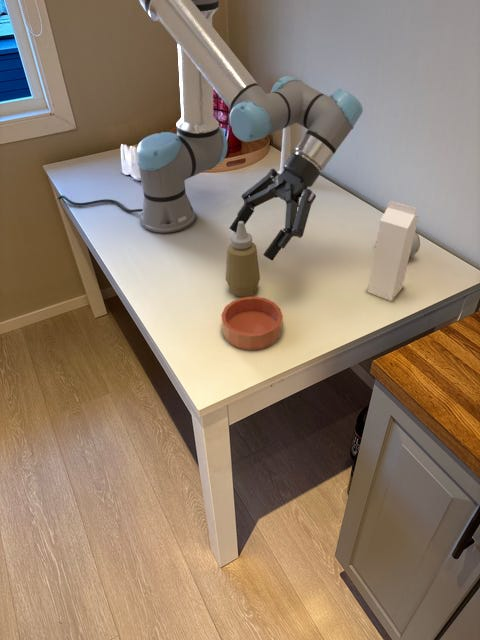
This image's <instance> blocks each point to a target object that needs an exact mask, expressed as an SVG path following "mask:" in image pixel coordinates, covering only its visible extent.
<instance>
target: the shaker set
mask: <svg viewBox="0 0 480 640" xmlns="http://www.w3.org/2000/svg"><path fill="white" fill-rule="evenodd" d="M137 159H138V158H137V147H136V146H132V145H130V146H128V145H127V144H123V143H121V145H120V160H121V173H122V174H124V175H125V176H129V175H130V177H131V178H133V179H134V180H135V181H138V182H141V176H140V170H139V166H138V163H137Z"/></svg>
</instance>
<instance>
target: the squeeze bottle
mask: <svg viewBox="0 0 480 640" xmlns="http://www.w3.org/2000/svg"><path fill="white" fill-rule="evenodd" d="M259 265H260V264H259V257H258V249H257V245H256V243H255V242H253V236H252V234H251V233H249V232H247V229H246V224H245V225H244V222H243V221H239V222H238V227H237V232H236V233H235V232H234V233H233V234H232V235H231V237H230V243H229V244H228V245H227V249H226V266H225V267H226V269H225V281H226V283H227V286H228V288H229V290H230V292H231V294H233V295H235V296H236V297H240V298H242V297H251V296H253V294H254V293H255V292H256V290H257V288H258V286H259V284H260V280H261V273H260V266H259Z"/></svg>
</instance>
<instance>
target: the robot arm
mask: <svg viewBox="0 0 480 640" xmlns="http://www.w3.org/2000/svg"><path fill="white" fill-rule="evenodd" d="M138 1H139V3H140V5H141V6H142V8H143V10H144V11H145V12H146V14H147V15H148V16H149V17H150V19H151V20H152V21H153V22H155V23H161V24H162V26H163V27H164V28H165V30H166V31H167V32H168V33H169V34H170V36H171V37H172V38H173V40H174V41H175V42H176V44H177V60H178V76H179V77H178V78H179V93H180V94H179V95H180V112H181V116H180V118H179V119H177V121H176V133H175V132H171V131H161V132H160V133H158V132H157V133H153V134H150V135H148V136H146V137H144V138H143V139H141V141H140V142H139V143H138V145H137V147H136V148H137V158H138V159H137V163H138V166H139V170H140V176H141V181H140V182H141V187H142V193H143V204H142V208H135V209H129V208H127V207H125V206H124V205H123V204H122V203H121V202H119V201H117V200H115V199H109V198H107V199H106V198H105V199H103V198H102V199H97V200H96V199H95V200H93V201H92V200H91V201H86V202H76V201H73V200H71V199H69V198H68V197H67V196H65V195H59V196H58V198H57V200H61V199H64V200H65V201H66V202H68V203H69V204H71V205H74V206H89V205H94V204H99V203H100V204H101V203H114V204H116V205H118V206H119V207H120V208H121V209H122V210H123V211H125V212H127V213H141V214H140V216H141V217H140V218H141V224H142V226H143V227H144V228H145V229H146V230H148V231H150V232H152V233H158V234H171V233H176V232H180V231H183V230H185V229H187V228H189V227H190V226H191V225H192V224H193V223H194V222H195V219H196V217H195V211H194V208H193V206H192V204H191V201H190V199H189V197H188V195H187V192H186V184H185V183H186V182H185V181H186V180H188V179H190V178H193V177H195V176H197V175H199V174H202V173H203V172H205V171H209V170H212V169H214V168H216V166H218V165H220V164H221V163H223V161H224V160H225V158H226V156H227V153H228V147H229V146H228V138H227V136H226V135H225V131H224V129H223V128H222V126H220V122H219V121H218V120H217V119H216V117H215V116H214V92H215V93H216V94H217V95H218V97H219V98H220V99H221V101H222V102H223V103H224V104H225V105H226V106H227V108H228V110H229V111H230V112H229V126H230V127H231V129H232V133H233V135H234V136H235V138H237V139H238V140H239V141H241V142H245V143H250V142H256V141H257V140H262V139H265V138H266V137H267V136H269V135H271V134H274V133H276V132H278V131H281V130H283V128H286V127H288V126H290V127H291V126H293V125H294V124H298V125H300V126H302V128H305V129H307V131H306V132H305V133H304V135H303V136H302V138H301V139H300V140H299V142H298V143H297V145H296V146H295V147H294V152H293V153H291V155H290V157H289V158H288V160H287V161H286V163H285V164H284V166H283V168H284V171H283V172H282V173H281V174H279V173H278V172H277V171H278V170H276V169H275V168H271V169H270V170H269V172H268V173H267V174H266V175H265V176H264V177H263V178H261V179H260V180H258V181H257V182H256V183H255V184H254V185H252V186H251V187H250V188H248V189H247V190H246V191H244V192H243V193H242V194H241V195H240V196H241V199H242V200H243V205H242V206H241V208H240V209H239V211H238V212H237V215H236V218H235V219H234V220H233V222H232V223H231V225H230V226H229V227H228V229H229V230H231V231H232V232H233V233H234V234H235V233H236V232H237V227H238V222H239V221H243V222H244V225H245V226H246V224H247V222H248V221H249V220H250V218H251V216H253V214H254V212H255V210H256V209H255V208H256V207H258V206H260V205H263V204H264V203H266V202H268V201H270V200H273V199H274V198H279V199H280V200H283V201H284V202H285V205H286V207H285V220H284V221H285V222H284V227H283V228H282V229H280V230H279V231H278V233H277V235H275V237H274V238H273V240H272V241H271V243H270V244H269V246H268V247H267V248H266V250H265V251H264V253H263V254H262V255H263V256H264V257H265V258H266V259H268V260H270V261H271V262H273V261H274V259H276V257H277V255H278V254H279V253H280V251H281V250H283V249H285V248H286V246H287V245H288V244H289V242H290V241H291V240H292V238H294V237H295V238H296V237H297V238H298V239H300V238H302V237H303V236H304V233H305V229H306V225H307V221H308V220H309V219H308V218H309V214H310V211H311V207H312V205H313V203H314V201H315V200H316V197H317V195H316V194H315V192H313V191H312V189H310V188H311V187H313V186H314V184H315V182H316V181H317V179H318V178H319V177H320V175H321V174H320V171H323V170H324V169H326V167H327V165H328V163H329V162H330V161H331V159H332V158H333V156H334V155H335V154H336V152H337V150H338V149H339V147H341V145H342V144H343V142H344V141H345V139H346V138H347V136H349V134H350V133H351V131H352V130H353V129H354V128H355V126H356V125H357V122H358V121H359V119H360V117H361V116H362V114H363V111H364V108H363V105H362V103H361V101H360V100H359V99H358V98H357V97H356V95H354V94H352V93H351V92H349V91H348V90H346V89H342V88H337V89H335V90H334V91H333V92H332V93H331V95H330V96H329V95H327V94H325V93H323V92H321V91H319V90H318V89H316V88H314V87H312V86H311V85H308V84H306V83H305V82H303V81H302V80H300V79H297V78H294V77H292V76H290V75H284V76H282V77H280V78H279V79H278V81H276V82H275V83H274V84H273V86H272V88H271V90H270V92H268V93H266V92H265V91H264V89H263V88H262V87H261V86H260V85H259V84H258V82H257V81H256V80H255V79H254V77H253V76H252V75H251V74H250V72H249V71H248V70H247V69H246V67H245V66H244V65H243V63H242V62H241V61H240V60H239V58H238V57H237V56H236V55H235V53H234V52H233V51H232V50H231V48H230V47H229V45H228V44H227V43H226V42H225V40H224V39H223V38H222V37H221V36H220V34H219V33H218V32H217V31H216V29H215V28H214V26H213V16H214V14H215V13H216V12H217V11H218V10H219V6H220V5H219V0H138Z"/></svg>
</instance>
